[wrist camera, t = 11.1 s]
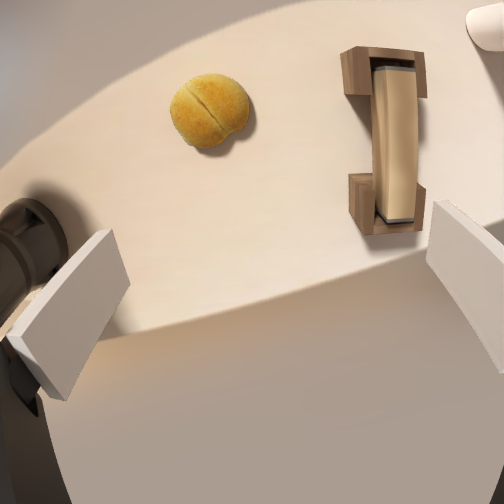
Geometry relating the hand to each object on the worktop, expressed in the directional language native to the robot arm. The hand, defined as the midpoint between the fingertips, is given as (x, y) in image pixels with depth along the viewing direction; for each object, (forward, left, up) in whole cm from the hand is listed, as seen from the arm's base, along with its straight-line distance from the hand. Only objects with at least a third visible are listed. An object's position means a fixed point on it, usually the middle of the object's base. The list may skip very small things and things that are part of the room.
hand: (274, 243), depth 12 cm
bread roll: (-6, +4, -27) cm, 28 cm away
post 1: (+13, +8, -27) cm, 31 cm away
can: (+31, +16, -27) cm, 44 cm away
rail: (+13, 0, -24) cm, 27 cm away
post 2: (+13, -8, -27) cm, 31 cm away
